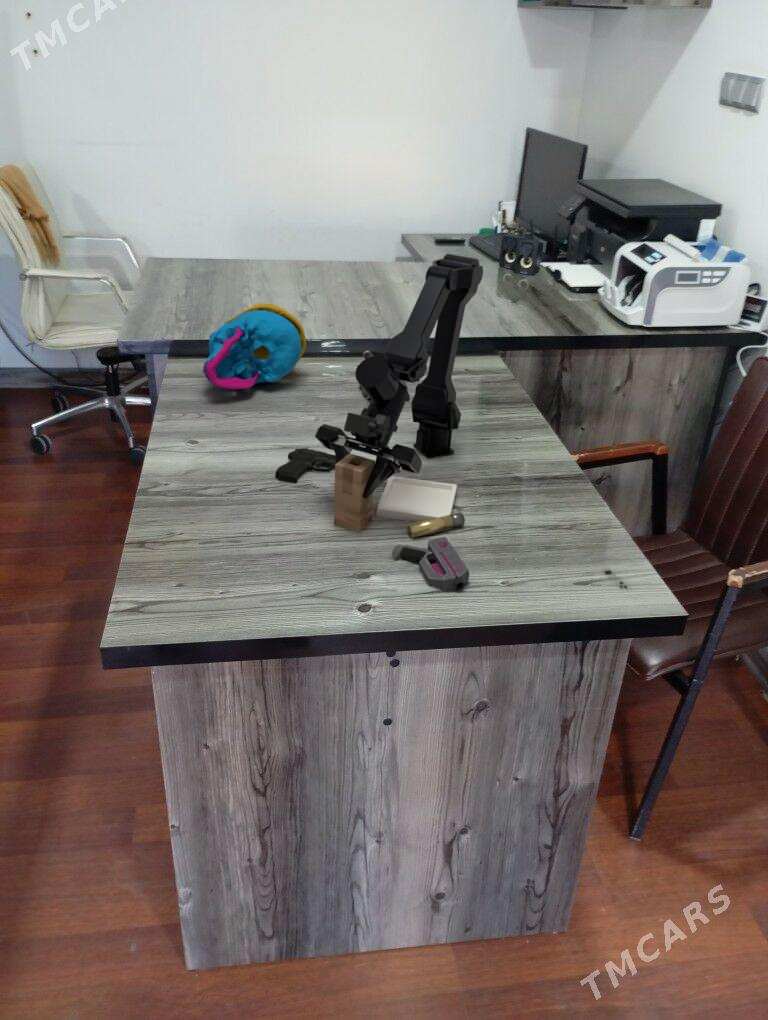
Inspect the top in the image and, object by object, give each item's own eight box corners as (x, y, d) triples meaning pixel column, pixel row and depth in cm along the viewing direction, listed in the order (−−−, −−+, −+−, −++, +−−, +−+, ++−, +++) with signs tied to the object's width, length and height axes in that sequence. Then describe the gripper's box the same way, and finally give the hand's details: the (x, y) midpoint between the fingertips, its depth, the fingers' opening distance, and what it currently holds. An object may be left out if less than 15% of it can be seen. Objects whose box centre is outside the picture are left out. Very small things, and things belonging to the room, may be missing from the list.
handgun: (359, 487, 156) (373, 456, 166) (273, 471, 158) (292, 441, 168) (358, 499, 157) (372, 468, 167) (273, 483, 159) (291, 453, 169)
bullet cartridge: (456, 521, 149) (458, 509, 148) (464, 527, 148) (465, 516, 146) (406, 533, 145) (407, 521, 144) (413, 540, 143) (414, 528, 142)
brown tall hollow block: (347, 512, 150) (349, 453, 144) (372, 520, 148) (375, 460, 142) (333, 525, 146) (334, 464, 140) (358, 533, 144) (361, 472, 138)
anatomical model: (217, 416, 187) (213, 385, 209) (323, 382, 189) (308, 355, 211) (190, 342, 179) (189, 318, 201) (300, 308, 181) (287, 288, 204)
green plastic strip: (632, 587, 134) (622, 590, 133) (632, 590, 134) (621, 593, 134) (609, 566, 139) (599, 568, 138) (608, 569, 139) (598, 572, 139)
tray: (389, 482, 161) (389, 475, 160) (456, 491, 159) (457, 484, 158) (376, 516, 150) (377, 509, 149) (448, 526, 148) (449, 519, 147)
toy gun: (415, 605, 130) (475, 590, 132) (415, 588, 128) (475, 574, 130) (388, 556, 141) (443, 543, 143) (387, 540, 139) (443, 527, 141)
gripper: (321, 380, 142) (285, 463, 139) (420, 405, 135) (385, 493, 132) (343, 407, 152) (310, 485, 149) (436, 432, 145) (403, 514, 142)
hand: (350, 493), depth 143 cm, fingers closed on brown tall hollow block, 5 cm apart
